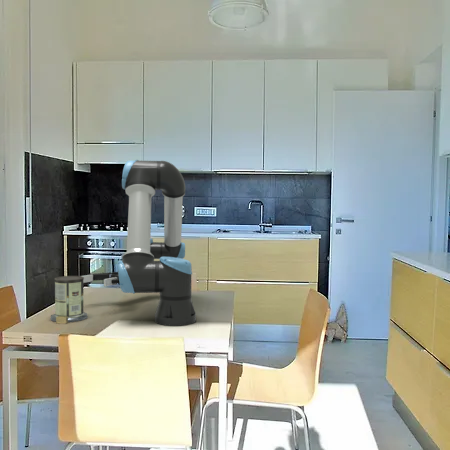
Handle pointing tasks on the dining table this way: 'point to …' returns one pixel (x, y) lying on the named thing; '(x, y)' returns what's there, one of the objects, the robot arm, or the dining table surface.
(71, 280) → the coffee can
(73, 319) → the lock base
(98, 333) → the dining table surface
